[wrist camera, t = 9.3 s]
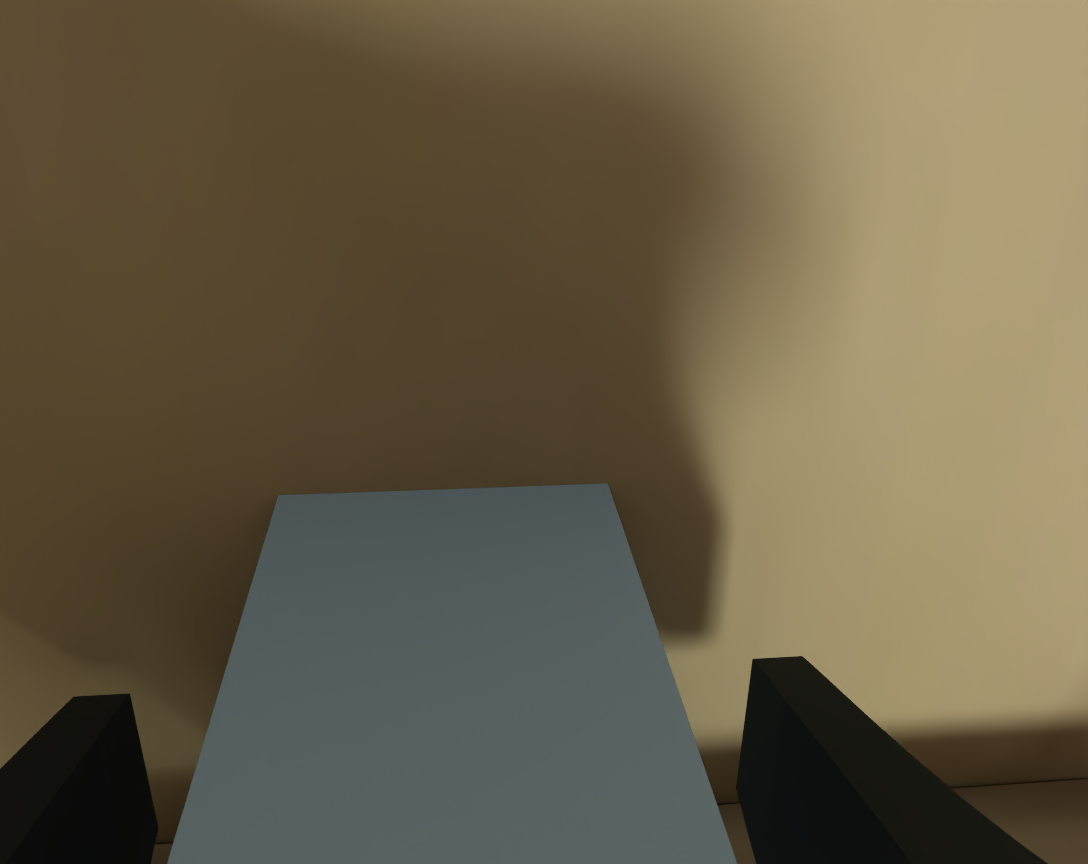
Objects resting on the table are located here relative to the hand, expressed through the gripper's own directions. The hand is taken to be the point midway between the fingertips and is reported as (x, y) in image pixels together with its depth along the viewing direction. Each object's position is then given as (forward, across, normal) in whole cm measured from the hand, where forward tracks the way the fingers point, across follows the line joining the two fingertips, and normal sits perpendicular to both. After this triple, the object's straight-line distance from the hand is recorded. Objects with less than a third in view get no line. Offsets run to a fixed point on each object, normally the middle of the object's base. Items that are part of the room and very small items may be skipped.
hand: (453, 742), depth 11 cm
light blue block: (+2, 0, +1) cm, 2 cm away
